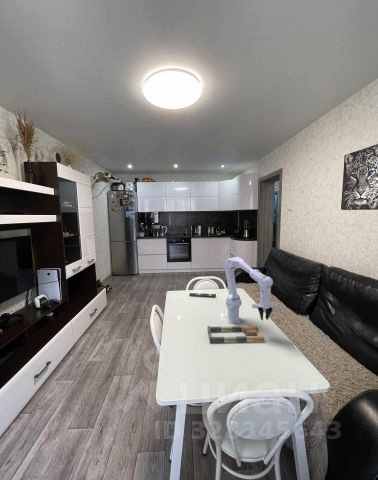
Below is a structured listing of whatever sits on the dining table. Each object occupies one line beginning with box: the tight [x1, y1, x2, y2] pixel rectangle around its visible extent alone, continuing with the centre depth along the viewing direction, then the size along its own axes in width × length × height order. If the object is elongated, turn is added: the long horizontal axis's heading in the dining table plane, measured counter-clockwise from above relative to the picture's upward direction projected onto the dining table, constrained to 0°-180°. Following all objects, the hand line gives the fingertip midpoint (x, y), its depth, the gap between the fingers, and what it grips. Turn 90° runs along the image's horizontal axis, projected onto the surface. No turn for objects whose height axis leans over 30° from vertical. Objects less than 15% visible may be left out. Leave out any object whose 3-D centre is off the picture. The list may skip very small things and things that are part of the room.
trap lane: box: [207, 325, 265, 344], centre depth 128 cm, size 13×31×3 cm, turn 91°
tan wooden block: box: [243, 325, 258, 336], centre depth 128 cm, size 6×6×4 cm
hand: (264, 319), depth 127 cm, fingers closed
